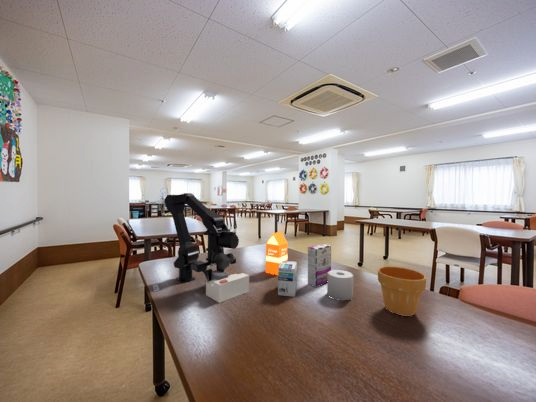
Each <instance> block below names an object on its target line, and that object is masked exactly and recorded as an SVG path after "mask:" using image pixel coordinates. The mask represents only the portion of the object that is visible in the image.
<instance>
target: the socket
mask: <svg viewBox="0 0 536 402" xmlns="http://www.w3.org/2000/svg"><path fill="white" fill-rule="evenodd" d="M249 292H250V274H249V275H248V274H247V273H243V272H242V273H238V274H237V273H233V274H230V275H229V274H228V278H224V279H221V280H216V279H215V280H212V281H206V282H205V296H207V297H209V298H210V299H212V300H214V301H215V302H217V303H218V304H219V303H222V302H226V301H228V300H230V299H233V298H236V297H238V296H241V295H243V294H246V293H249Z"/></svg>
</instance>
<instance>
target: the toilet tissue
mask: <svg viewBox="0 0 536 402" xmlns="http://www.w3.org/2000/svg"><path fill="white" fill-rule="evenodd" d="M326 286H327V287H326V288H327V289H326V290H327V291H326V292H327V293H326V294H327V296H328V295H329V296H330V297H332V298H334V299H333V300H335V299H339V300H348V301H350V300H349V299H351V298H352V297H354V274H353V273H352V272H350V271H346V270H342V269H341V270H340V269H331V270H330V271H329V272H328V282H327V284H326ZM329 296H328V297H329ZM330 297H329V298H330ZM332 298H331V299H332ZM352 299H353V298H352ZM352 299H351V300H352ZM339 300H338V301H339Z"/></svg>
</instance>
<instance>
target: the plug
mask: <svg viewBox="0 0 536 402" xmlns="http://www.w3.org/2000/svg"><path fill="white" fill-rule="evenodd" d="M228 276H229V274H228V273H224V272H220V271H218V270H217V269H216V270H213V271H212V272H211V281H212V280H215V279H216V280H221V279H224V278H228Z"/></svg>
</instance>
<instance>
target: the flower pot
mask: <svg viewBox="0 0 536 402" xmlns="http://www.w3.org/2000/svg"><path fill="white" fill-rule="evenodd" d="M377 281H378V282H379V283H380V287H381V292H382V299H383V304H384V308H385V307H386V308H387V309H388V310H390V311H392V312H394V313H398V314H403V315H412V314H416V312H417V310H418V309H417V308H418V306H419V303H420V300H421V296H422V292H423V291H425V290H426V287H427V277H426V275H425V274H423V273H422V272H419V271H417V270H414V269H410V268H407V267H400V266H381V267H379V268H378V270H377ZM386 308H385V309H386ZM387 309H386V310H387ZM388 310H387V311H388Z"/></svg>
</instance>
